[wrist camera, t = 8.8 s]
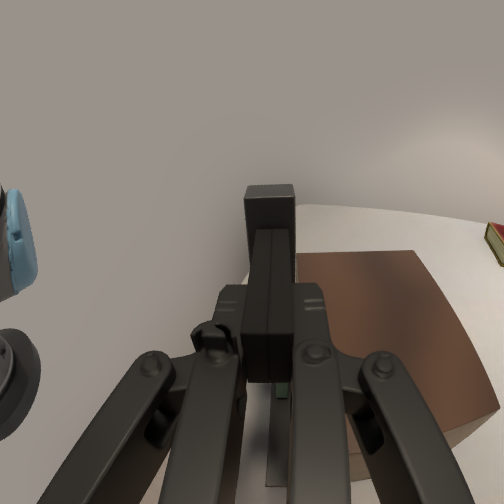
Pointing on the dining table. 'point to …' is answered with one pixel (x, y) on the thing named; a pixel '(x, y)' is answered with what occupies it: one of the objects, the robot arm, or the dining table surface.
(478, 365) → the cupboard
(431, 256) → the dining table surface
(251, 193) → the sliding door
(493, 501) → the dining table surface
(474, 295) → the dining table surface
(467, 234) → the dining table surface
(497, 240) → the hardcover book
